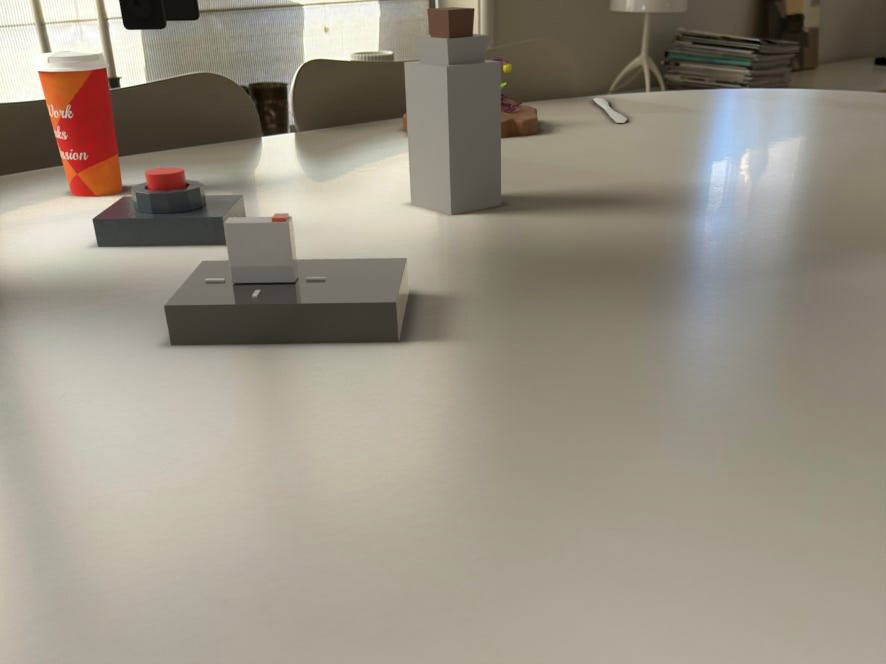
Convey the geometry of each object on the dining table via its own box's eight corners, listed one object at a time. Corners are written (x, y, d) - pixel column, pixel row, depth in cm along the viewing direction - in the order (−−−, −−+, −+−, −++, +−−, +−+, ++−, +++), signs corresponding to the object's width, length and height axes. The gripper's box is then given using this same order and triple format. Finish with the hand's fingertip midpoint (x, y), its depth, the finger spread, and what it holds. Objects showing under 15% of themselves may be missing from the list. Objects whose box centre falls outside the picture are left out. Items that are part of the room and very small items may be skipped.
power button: (144, 194, 99) (140, 174, 98) (153, 187, 102) (150, 167, 101) (182, 194, 99) (179, 173, 98) (191, 186, 102) (188, 166, 101)
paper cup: (57, 191, 122) (26, 52, 114) (124, 184, 125) (99, 48, 117) (68, 203, 116) (36, 58, 108) (139, 196, 119) (113, 54, 111)
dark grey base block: (171, 348, 74) (163, 303, 73) (208, 299, 84) (201, 258, 83) (398, 345, 74) (395, 299, 72) (408, 296, 84) (406, 255, 82)
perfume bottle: (411, 206, 112) (401, 9, 102) (460, 197, 116) (456, 5, 106) (451, 217, 108) (445, 11, 98) (501, 207, 111) (500, 7, 101)
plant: (411, 120, 164) (407, 37, 158) (537, 118, 164) (538, 35, 157) (397, 141, 148) (392, 49, 141) (537, 140, 147) (539, 47, 141)
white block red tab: (231, 283, 77) (222, 219, 74) (236, 277, 78) (227, 213, 76) (295, 282, 77) (287, 218, 74) (298, 276, 78) (291, 212, 76)
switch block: (98, 249, 99) (87, 198, 96) (128, 224, 107) (119, 177, 104) (226, 247, 98) (219, 195, 96) (246, 223, 107) (240, 175, 104)
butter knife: (609, 97, 179) (592, 96, 179) (632, 122, 156) (612, 122, 156) (609, 100, 179) (592, 100, 179) (631, 127, 157) (611, 126, 157)
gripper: (107, -236, 82) (149, 18, 92) (19, -272, 68) (80, 34, 78) (203, -239, 82) (235, 16, 92) (134, -275, 68) (181, 32, 77)
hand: (164, 24), depth 85 cm, fingers open, 9 cm apart
